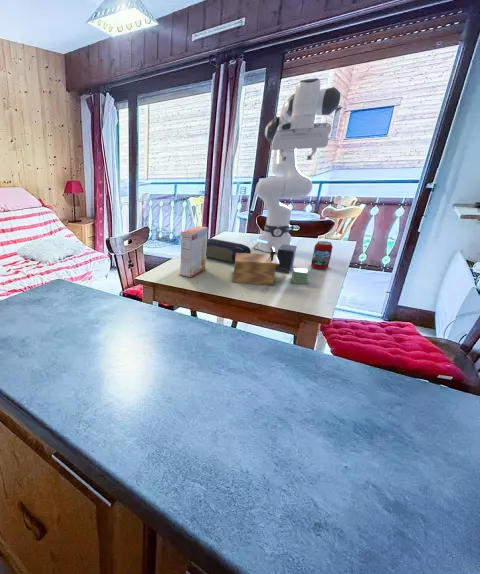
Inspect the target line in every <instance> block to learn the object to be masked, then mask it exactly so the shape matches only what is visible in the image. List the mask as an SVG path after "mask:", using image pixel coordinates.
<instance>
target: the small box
mask: <svg viewBox="0 0 480 574" xmlns="http://www.w3.org/2000/svg"><path fill="white" fill-rule="evenodd" d="M296 252H297V245H291V244H290V245H286V244H282V245H281V247H280V248H279V249H278V253H276V255H277V258H278V261H279V265H276V270H275V272H282V273H290V271H291V270H292V269H293V268H294V267H293V266H294V264H295V263H294V262H295V257H296V254H297V253H296Z"/></svg>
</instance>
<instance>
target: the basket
mask: <svg viewBox="0 0 480 574" xmlns="http://www.w3.org/2000/svg"><path fill="white" fill-rule="evenodd" d="M235 256H236V255H235ZM275 270H276V265H264V264H248V263H234V265H233V276H232V282H233V283H239V284H243V283H244V284H252V285H253V284H254V285H265V286H274V282H275V276H276V271H275Z"/></svg>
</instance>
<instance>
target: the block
mask: <svg viewBox="0 0 480 574" xmlns="http://www.w3.org/2000/svg"><path fill="white" fill-rule="evenodd" d="M309 273H310V272H309V271H308V269H307V268H298V267H292V272H291V278H290V279H291V282H292V284H299V285H300V284H303V285H307V282H308V278H309Z"/></svg>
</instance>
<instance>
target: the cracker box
mask: <svg viewBox="0 0 480 574" xmlns="http://www.w3.org/2000/svg"><path fill="white" fill-rule="evenodd" d="M208 230H209V229H208V226H199V225H198V226H195V227H192V228H189V229H186V230H184V231H182V232H181V233H180V234H181V237H180V266H179V267H180V271H179V272H180V276H183V277H188V278H192V277H194V276H196V275H198V274H199V273H202V272H203V271H205V270H206V261H207V260H206V259H207V256H206V246H207V239H208Z"/></svg>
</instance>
